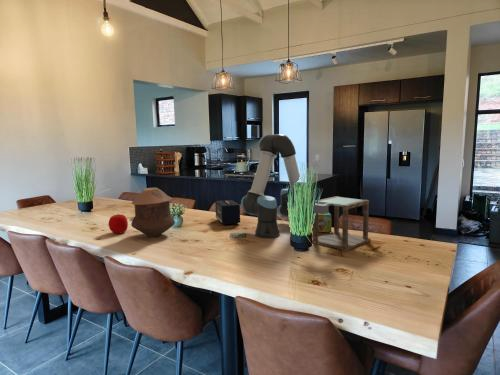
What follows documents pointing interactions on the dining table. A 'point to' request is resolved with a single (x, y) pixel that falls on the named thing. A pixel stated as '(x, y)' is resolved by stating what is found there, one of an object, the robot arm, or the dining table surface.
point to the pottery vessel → (152, 212)
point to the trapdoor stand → (343, 238)
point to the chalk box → (324, 222)
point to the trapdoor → (336, 201)
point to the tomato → (118, 224)
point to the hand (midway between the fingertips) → (323, 218)
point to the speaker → (228, 212)
